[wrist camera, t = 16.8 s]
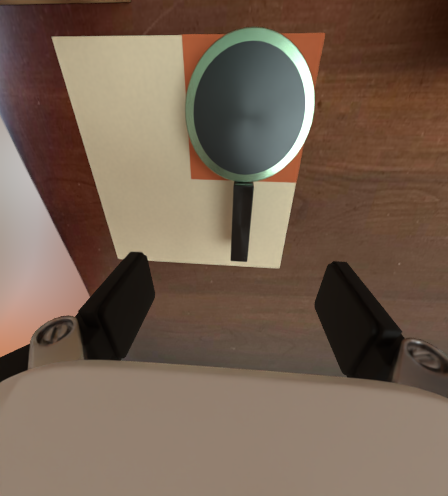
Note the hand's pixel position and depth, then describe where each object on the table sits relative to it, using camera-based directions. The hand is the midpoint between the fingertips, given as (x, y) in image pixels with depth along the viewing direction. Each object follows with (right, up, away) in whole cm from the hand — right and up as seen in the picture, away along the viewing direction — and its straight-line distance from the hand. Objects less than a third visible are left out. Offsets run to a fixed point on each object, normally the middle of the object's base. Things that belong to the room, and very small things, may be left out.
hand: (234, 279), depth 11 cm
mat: (-4, +9, +11) cm, 15 cm away
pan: (+2, +10, +10) cm, 14 cm away
